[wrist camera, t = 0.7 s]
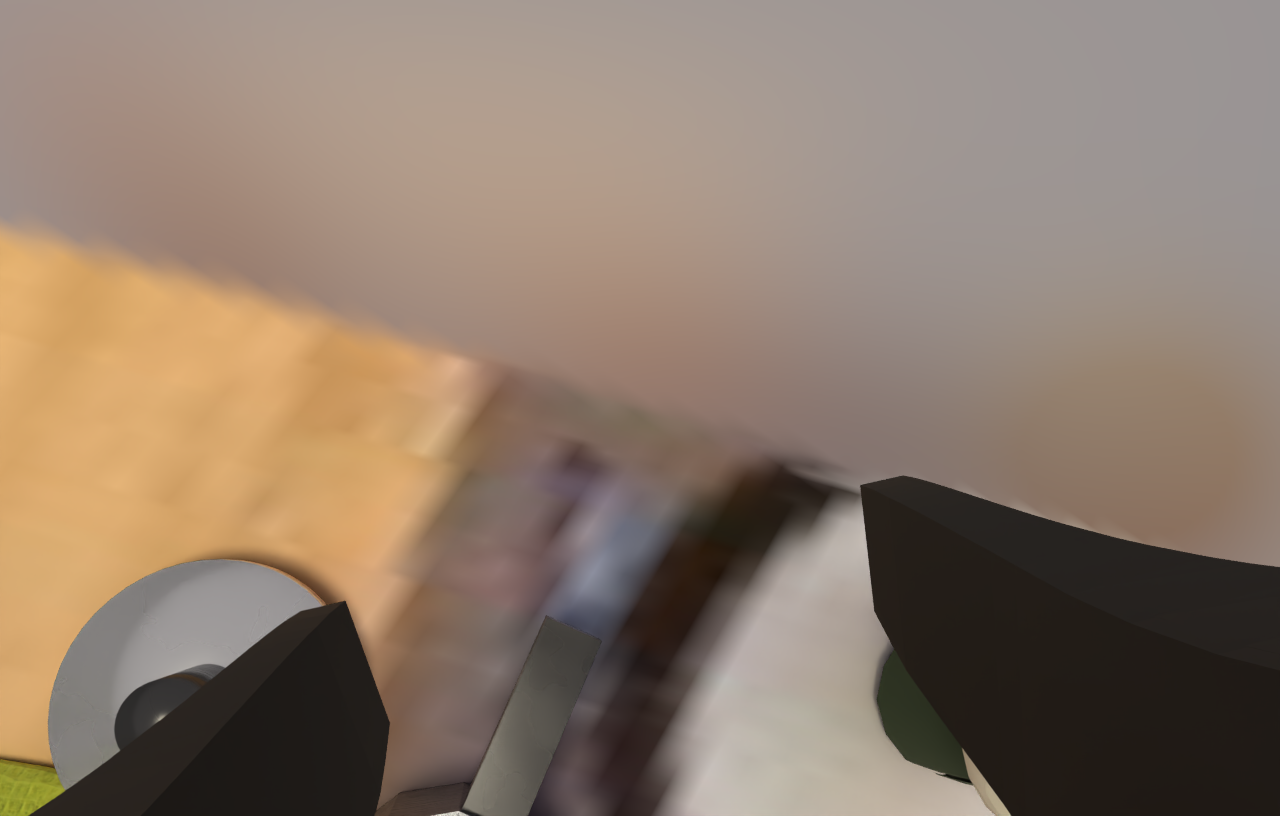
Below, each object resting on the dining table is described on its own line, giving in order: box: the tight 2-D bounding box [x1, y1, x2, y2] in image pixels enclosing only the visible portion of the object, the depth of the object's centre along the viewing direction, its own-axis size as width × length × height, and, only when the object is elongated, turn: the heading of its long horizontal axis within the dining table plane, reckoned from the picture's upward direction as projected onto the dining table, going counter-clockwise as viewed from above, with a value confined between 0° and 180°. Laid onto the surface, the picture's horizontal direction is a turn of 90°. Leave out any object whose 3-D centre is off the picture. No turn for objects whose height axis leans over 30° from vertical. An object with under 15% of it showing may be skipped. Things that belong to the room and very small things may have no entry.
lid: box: [48, 559, 326, 791], centre depth 27 cm, size 10×10×5 cm
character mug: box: [877, 649, 1011, 816], centre depth 27 cm, size 11×7×13 cm, turn 65°
